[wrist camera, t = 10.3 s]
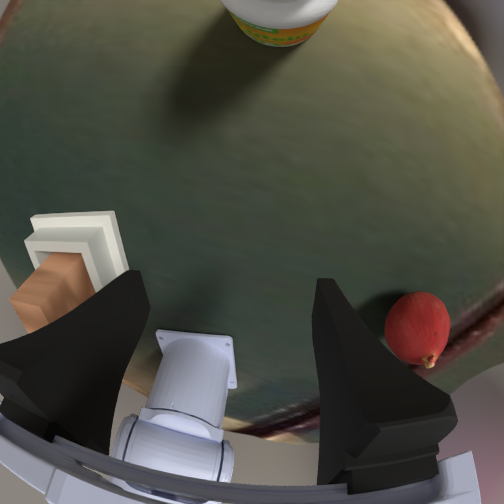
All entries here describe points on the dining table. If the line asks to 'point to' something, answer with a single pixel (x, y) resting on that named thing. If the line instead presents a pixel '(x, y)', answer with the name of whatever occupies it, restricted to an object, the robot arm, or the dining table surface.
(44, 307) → the peg
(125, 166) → the dining table surface
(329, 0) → the supplement bottle
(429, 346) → the onion
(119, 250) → the socket
